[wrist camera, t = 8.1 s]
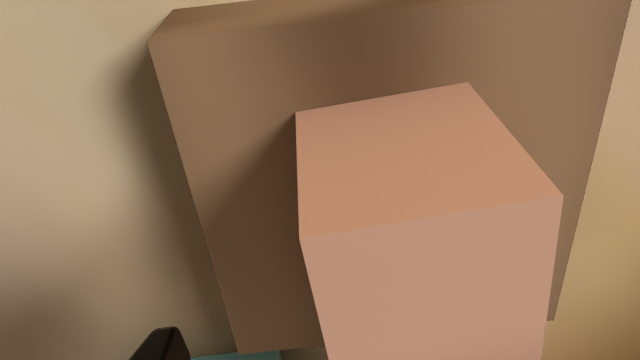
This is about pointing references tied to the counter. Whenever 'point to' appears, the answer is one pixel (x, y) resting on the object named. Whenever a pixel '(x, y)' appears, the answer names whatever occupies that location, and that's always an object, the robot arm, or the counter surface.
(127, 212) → the counter surface
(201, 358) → the teal brick
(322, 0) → the walnut slab
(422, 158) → the terracotta brick
